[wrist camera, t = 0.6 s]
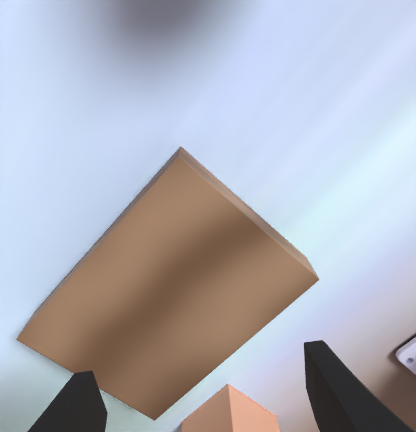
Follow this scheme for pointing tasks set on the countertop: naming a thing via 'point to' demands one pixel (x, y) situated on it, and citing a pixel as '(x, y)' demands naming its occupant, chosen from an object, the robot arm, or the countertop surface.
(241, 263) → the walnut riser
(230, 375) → the countertop surface
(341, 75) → the countertop surface
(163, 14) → the countertop surface
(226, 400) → the terracotta cube
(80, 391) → the robot arm
